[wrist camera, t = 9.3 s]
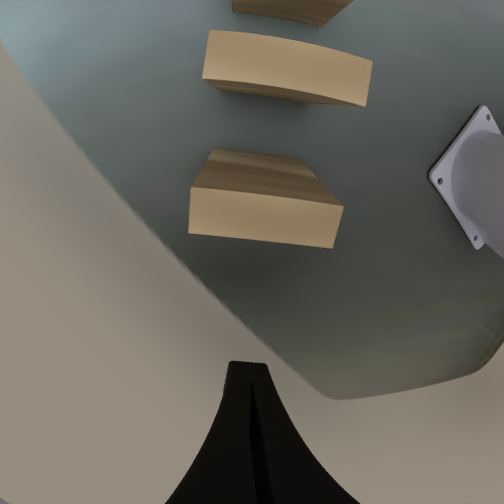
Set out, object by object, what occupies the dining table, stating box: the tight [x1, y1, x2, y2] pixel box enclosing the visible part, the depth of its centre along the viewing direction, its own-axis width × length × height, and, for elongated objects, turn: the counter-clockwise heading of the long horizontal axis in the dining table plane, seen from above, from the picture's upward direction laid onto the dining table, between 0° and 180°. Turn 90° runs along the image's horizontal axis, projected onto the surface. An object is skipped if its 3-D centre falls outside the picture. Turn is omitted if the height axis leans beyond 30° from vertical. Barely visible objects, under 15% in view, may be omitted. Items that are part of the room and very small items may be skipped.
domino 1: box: [189, 148, 344, 248], centre depth 13 cm, size 2×5×8 cm, turn 82°
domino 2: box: [202, 30, 373, 107], centre depth 11 cm, size 2×5×8 cm, turn 82°
